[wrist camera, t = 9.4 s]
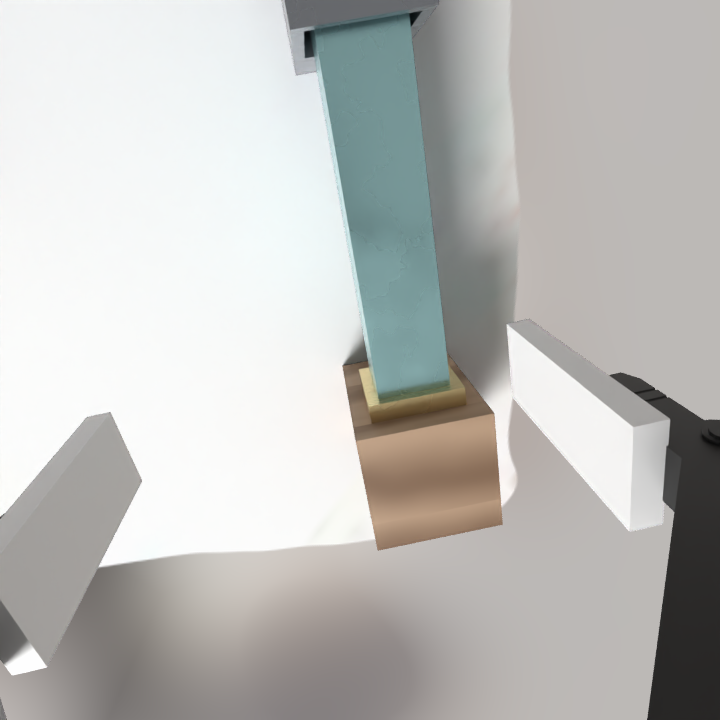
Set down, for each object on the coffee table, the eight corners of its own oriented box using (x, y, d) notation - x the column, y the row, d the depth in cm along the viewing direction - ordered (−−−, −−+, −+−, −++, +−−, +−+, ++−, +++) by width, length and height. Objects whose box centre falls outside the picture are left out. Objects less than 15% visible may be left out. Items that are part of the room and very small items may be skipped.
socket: (342, 365, 38) (355, 441, 27) (442, 346, 38) (494, 413, 27) (359, 451, 41) (377, 550, 30) (452, 433, 41) (502, 524, 30)
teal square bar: (289, -4, 26) (284, -52, 20) (396, -23, 26) (419, -75, 20) (373, 446, 36) (384, 494, 31) (449, 430, 36) (473, 475, 31)
